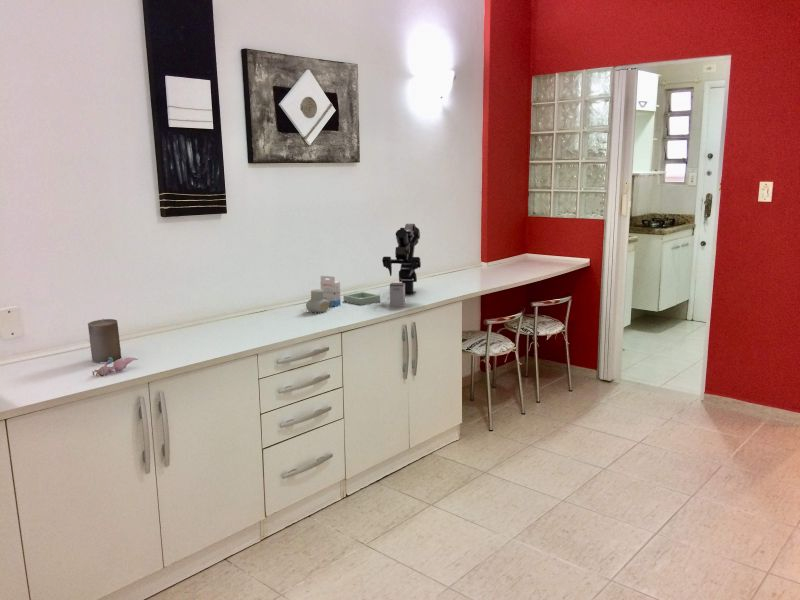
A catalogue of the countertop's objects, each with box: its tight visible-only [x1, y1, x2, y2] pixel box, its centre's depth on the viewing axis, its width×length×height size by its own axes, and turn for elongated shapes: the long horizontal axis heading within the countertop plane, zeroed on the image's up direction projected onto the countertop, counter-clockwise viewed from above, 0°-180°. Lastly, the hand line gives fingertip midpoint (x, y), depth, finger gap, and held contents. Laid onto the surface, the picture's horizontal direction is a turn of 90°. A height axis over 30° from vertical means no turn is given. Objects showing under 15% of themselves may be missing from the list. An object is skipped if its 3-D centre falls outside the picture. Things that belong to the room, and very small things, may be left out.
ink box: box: [320, 275, 342, 307], centre depth 323 cm, size 8×5×15 cm, turn 62°
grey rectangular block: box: [389, 282, 406, 308], centre depth 320 cm, size 6×7×11 cm
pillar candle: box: [87, 318, 122, 363], centre depth 235 cm, size 10×10×15 cm
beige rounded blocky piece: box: [305, 289, 330, 313], centre depth 310 cm, size 11×8×10 cm
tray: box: [342, 291, 381, 306], centre depth 333 cm, size 13×13×3 cm
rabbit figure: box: [92, 356, 139, 378], centre depth 222 cm, size 6×6×15 cm
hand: (399, 275), depth 326 cm, fingers open, 9 cm apart
